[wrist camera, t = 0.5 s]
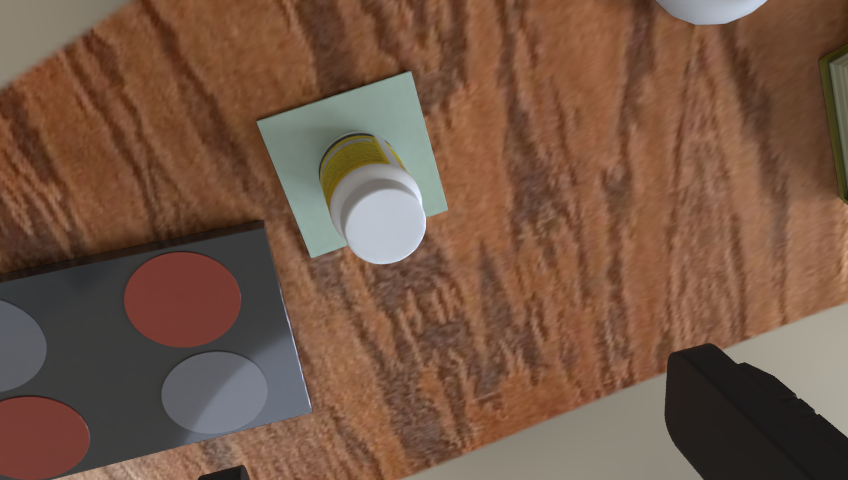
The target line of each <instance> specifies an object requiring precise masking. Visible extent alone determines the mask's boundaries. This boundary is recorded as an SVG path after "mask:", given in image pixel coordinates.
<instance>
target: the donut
mask: <svg viewBox="0 0 848 480" xmlns="http://www.w3.org/2000/svg"><path fill="white" fill-rule="evenodd" d="M655 1H656V2H657V3H659V4H660V5H661V6H662V7H663V8H664V9H665V10H666V11H667V12H668V13H669V14H670V15H672V16H674V17H676V18H679V19H681V20H684V21H687V22H690V23H692V24H695V25H705V24H726V23H728V22H730V21H733V20H735V19H738V18H740V17H743V16H745V15H748V14H750V13H751V12H753V11H755V10H756V9H757V8H758V7H760V6H761V5H762V4H763V3H765V2H766V1H767V0H655Z"/></svg>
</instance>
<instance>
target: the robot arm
mask: <svg viewBox="0 0 848 480" xmlns="http://www.w3.org/2000/svg"><path fill="white" fill-rule="evenodd" d="M665 422H666V426H667V429H668V432H669V435H670V436H671V439H672V441H673V442H674V444H675V446H676V447H677V448H678V449H679V451H680V452H681V453H682V454H683V455H684V457H685V458H686V459H687V460H688V461H689V463H690V464H691V465H692V466H693V467H694V469H695V470H696V471H697V472H698V473H699V474H700V476H701V477H702V478H703V479H704V480H848V438H847V437H846V436H845V435H844V434H843V433H841V432H840V431H839V430H838V429H837V428H835V427H834V426H833V425H832V424H831V423H829V422H828V421H827V420H826V419H825V418H823V417H822V416H821V415H820V414H818V415H817V414H816V413H815V410H814V409H813V408H812V407H810V406H809V405H808V404H807V403H806V402H804V401H803V400H802V399H798V398H797V397H796V394H795V393H794V392H792V391H791V390H790V389H789V388H788V387H786V386H785V385H784V384H783V383H782V382H780V381H779V380H778V379H777V378H775V376H773V375H771V374H768V373H766V372H764V371H762V370H760V369H758V368H756V367H754V366H752V365H749V364H747V363H745V362H744V363H740V364H736V363H735V362H734V361H733V360H732V359H731V358H730V357H728V356H727V355H726V354H725V353H724V352H723V351H722V350H720V349H719V348H718V347H717V346H715V345H713V344H710V343H707V344H703V345H699V346H696V347H692V348H688V349H684V350H680V351H677V352H673V353H671V354H670V356H669V358H668V363H667V381H666V398H665ZM198 480H250V479H249V476H248V473H247V470H246V468H245V466H244V465H240V466H236V467H232V468H229V469H225V470H221V471H217V472H214V473H210V474H206V475H202V476H200V477H199V478H198Z"/></svg>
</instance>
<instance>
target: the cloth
mask: <svg viewBox="0 0 848 480" xmlns="http://www.w3.org/2000/svg"><path fill="white" fill-rule="evenodd" d="M256 122H257V125H258V127H259V130H260V132H261V135H262V137H263V140H264V142H265V145H266V147H267V150H268V152H269V155H270V157H271V160H272V162H273V165H274V167H275V169H276V172H277V174H278V177H279V179H280V182H281V184H282V187H283V189H284V192H285V194H286V197H287V199H288V202H289V204H290V207H291V209H292V212H293V214H294V217H295V219H296V222H297V224H298V227H299V229H300V232H301V234H302V236H303V239H304V241H305V244H306V246H307V249H308V251H309V254H310V256H311V258H313V257H316V256H319V255H321V254H324V253H327V252H330V251H333V250H336V249H338V248H341V247H344V246H347V245H348V243H347V241H346V240H344V239H343V238H342V237H341V236H340V235H339V233H338V232H337V231H336V229H335V227H334V225H333V223H332V220H331V218H330V214H329V211H328V207H327V204H326V201H325V197H324V194H323V191H322V187H321V184H320V181H319V163H320V160H321V157H322V155H323V153H324V151H325V149H326V148H327V147H328V146H329V144H330V143H331V142H332V141H334V140H335V139H336V138H338V137H340V136H341V135H344V134H346V133H349V132H355V131H363V132H369V133H373V134H376V135H378V136H380V137H382V138H383V139H385V140H386V141H387V142H388V143H389V144H390V145H391V146H392V147H393V149H394V150H395V152H396V153H397V155H398V156H399V158H400V159H401V160H402V162H403V164H404V165H405V167H406V168H407V170H408V171H409V173H410V174H411V176H412V177H413V179H414V180H415V182H416V184H417V185H418V188H419V190H420V193H421V197H422V207H423V210H424V213H425V217H426V218H427V217H429V216H432V215H435V214H438V213H441V212H444V211H446V210H448V207H447V203H446V200H445V196H444V192H443V189H442V185H441V181H440V178H439V174H438V170H437V166H436V163H435V159H434V155H433V152H432V148H431V144H430V141H429V137H428V133H427V129H426V126H425V122H424V118H423V115H422V111H421V107H420V104H419V100H418V96H417V92H416V89H415V85H414V81H413V78H412V74H411V71H407V72H404V73H401V74H398V75H395V76H392V77H389V78H386V79H383V80H380V81H377V82H374V83H371V84H368V85H365V86H362V87H359V88H356V89H353V90H350V91H347V92H343V93H340V94H337V95H334V96H331V97H328V98H325V99H322V100H319V101H316V102H313V103H310V104H307V105H304V106H301V107H298V108H295V109H292V110H289V111H286V112H283V113H280V114H276V115H273V116H270V117H267V118H264V119H261V120H258V121H256Z"/></svg>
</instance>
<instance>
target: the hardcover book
mask: <svg viewBox="0 0 848 480" xmlns="http://www.w3.org/2000/svg"><path fill="white" fill-rule="evenodd" d="M819 66H820V72H821V78H822V85H823V91H824V98H825V104H826V110H827V117H828V123H829V130H830V136H831V142H832V149H833V155H834V162H835V168H836V175H837V181H838V187H839V194H840V199H841V200H842V201H843V202H844V203H846V204H847V205H848V43H847V44H845V45H844V46H842V47H840V48H838V49H837V50H835V51H833V52H831V53H830V54H828V55H826V56H824V57H823V58H821V59H819Z"/></svg>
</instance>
